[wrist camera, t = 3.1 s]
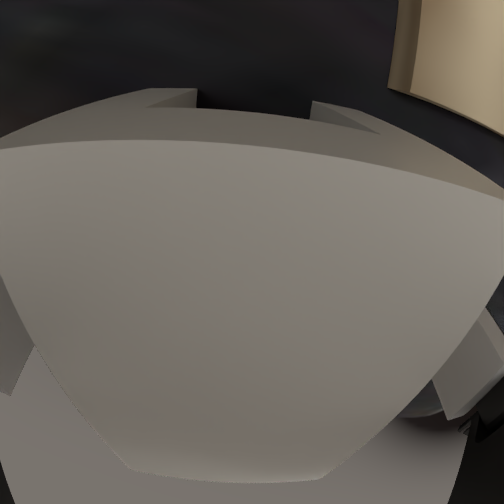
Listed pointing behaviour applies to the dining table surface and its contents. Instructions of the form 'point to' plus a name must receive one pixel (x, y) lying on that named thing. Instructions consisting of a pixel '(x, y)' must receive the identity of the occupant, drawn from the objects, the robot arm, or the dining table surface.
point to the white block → (241, 276)
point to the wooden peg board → (452, 57)
